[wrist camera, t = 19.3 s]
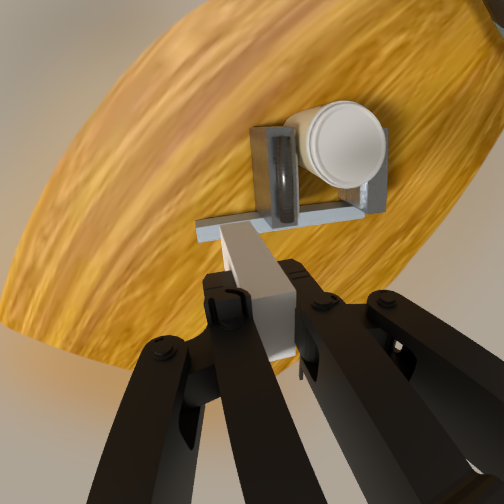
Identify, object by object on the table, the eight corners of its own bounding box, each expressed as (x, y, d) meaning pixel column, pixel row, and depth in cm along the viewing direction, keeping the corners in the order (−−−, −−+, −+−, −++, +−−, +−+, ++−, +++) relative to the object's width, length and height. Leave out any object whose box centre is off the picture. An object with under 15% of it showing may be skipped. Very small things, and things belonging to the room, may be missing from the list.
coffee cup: (347, 129, 38) (400, 136, 27) (315, 183, 40) (361, 205, 29) (295, 92, 34) (339, 81, 23) (260, 149, 36) (293, 159, 26)
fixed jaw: (333, 124, 37) (364, 126, 30) (354, 125, 37) (388, 128, 30) (334, 198, 42) (363, 214, 34) (354, 196, 42) (385, 211, 35)
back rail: (195, 220, 38) (195, 228, 36) (354, 199, 42) (365, 205, 40) (197, 234, 39) (198, 242, 37) (354, 212, 43) (364, 218, 41)
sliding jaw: (249, 127, 34) (270, 127, 26) (276, 125, 35) (305, 126, 26) (255, 209, 39) (276, 234, 31) (281, 205, 40) (308, 229, 31)
